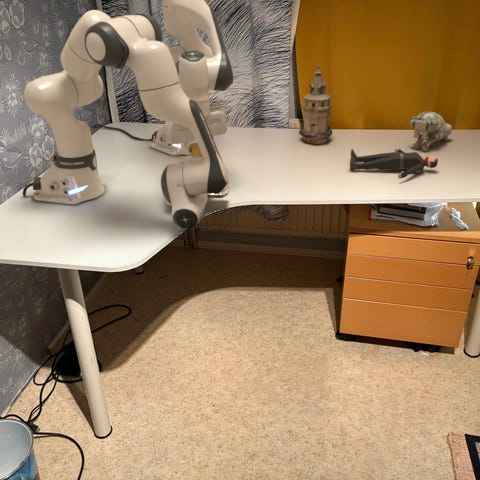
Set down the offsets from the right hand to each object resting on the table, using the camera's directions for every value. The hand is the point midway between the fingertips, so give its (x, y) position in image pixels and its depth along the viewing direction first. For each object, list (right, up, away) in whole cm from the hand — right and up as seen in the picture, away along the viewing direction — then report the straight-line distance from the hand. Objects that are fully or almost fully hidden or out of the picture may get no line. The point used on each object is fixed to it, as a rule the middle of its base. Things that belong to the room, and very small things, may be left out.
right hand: (198, 152), depth 168 cm
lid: (0, +2, -1) cm, 2 cm away
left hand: (0, -7, +5) cm, 9 cm away
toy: (+68, -2, +24) cm, 72 cm away
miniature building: (+44, +14, +53) cm, 70 cm away
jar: (0, -13, +7) cm, 15 cm away
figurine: (+88, +10, +45) cm, 100 cm away
